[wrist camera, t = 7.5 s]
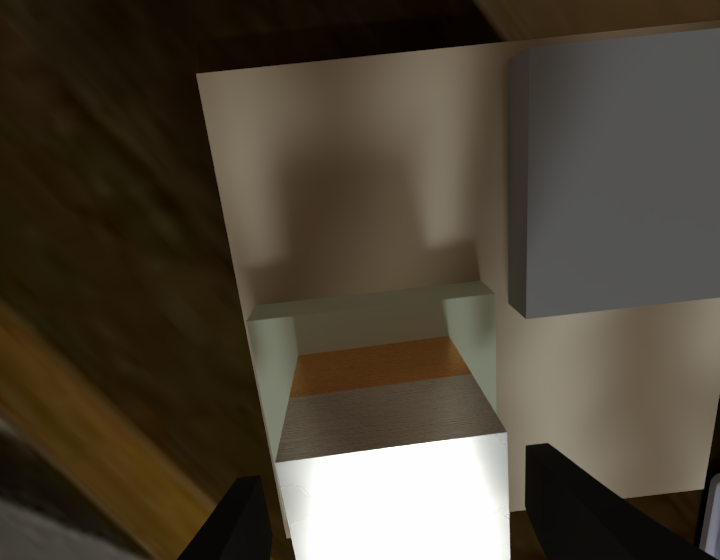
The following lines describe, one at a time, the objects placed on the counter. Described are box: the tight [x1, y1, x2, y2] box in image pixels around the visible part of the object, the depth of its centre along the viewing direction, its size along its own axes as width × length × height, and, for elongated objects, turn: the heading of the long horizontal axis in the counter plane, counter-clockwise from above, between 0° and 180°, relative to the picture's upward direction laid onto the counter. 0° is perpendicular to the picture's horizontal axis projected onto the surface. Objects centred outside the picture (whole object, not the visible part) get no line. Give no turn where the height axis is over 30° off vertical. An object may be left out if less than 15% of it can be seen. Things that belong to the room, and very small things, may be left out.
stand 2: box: [508, 28, 720, 319], centre depth 13 cm, size 8×8×2 cm
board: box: [196, 20, 720, 538], centre depth 16 cm, size 18×18×1 cm
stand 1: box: [246, 280, 497, 520], centre depth 15 cm, size 8×8×2 cm
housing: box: [275, 336, 510, 560], centre depth 12 cm, size 5×5×5 cm
